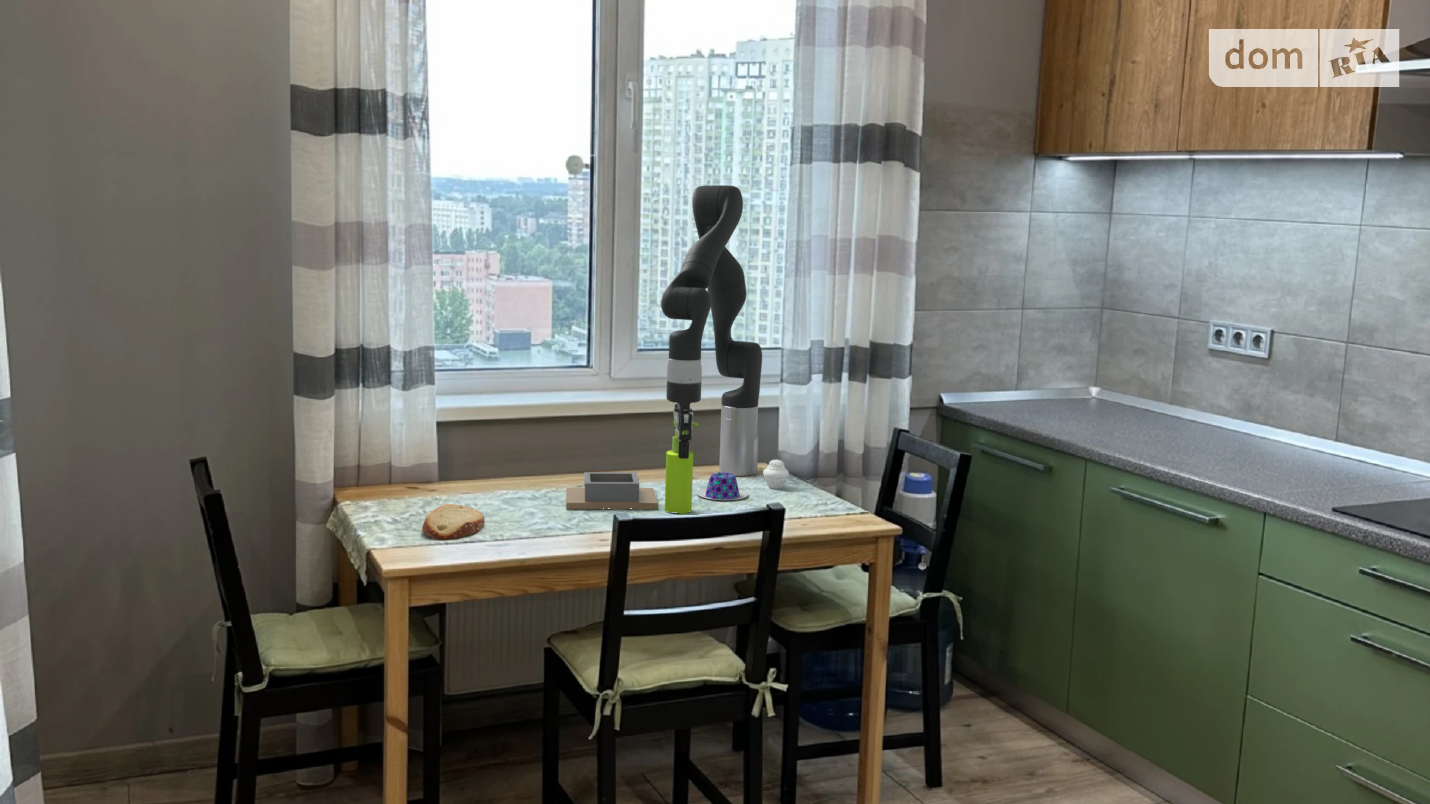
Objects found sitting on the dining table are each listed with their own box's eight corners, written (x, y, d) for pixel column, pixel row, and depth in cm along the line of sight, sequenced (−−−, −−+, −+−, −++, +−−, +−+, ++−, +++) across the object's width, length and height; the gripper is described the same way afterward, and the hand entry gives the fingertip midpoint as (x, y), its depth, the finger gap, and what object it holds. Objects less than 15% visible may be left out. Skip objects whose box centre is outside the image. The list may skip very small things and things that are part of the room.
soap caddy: (653, 494, 286) (653, 471, 285) (657, 509, 272) (658, 485, 271) (566, 494, 283) (566, 470, 282) (566, 509, 270) (566, 485, 269)
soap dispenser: (695, 514, 269) (698, 424, 265) (664, 513, 269) (666, 423, 266) (696, 507, 275) (699, 419, 271) (665, 506, 275) (668, 418, 271)
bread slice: (458, 511, 267) (458, 494, 266) (512, 528, 255) (512, 510, 255) (387, 526, 253) (387, 508, 253) (441, 544, 242) (441, 526, 241)
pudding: (687, 498, 285) (687, 476, 284) (711, 488, 295) (712, 466, 294) (733, 505, 279) (734, 483, 278) (756, 495, 289) (757, 473, 289)
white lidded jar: (788, 485, 299) (790, 457, 298) (787, 491, 293) (788, 462, 292) (763, 483, 300) (764, 455, 299) (761, 489, 294) (762, 461, 293)
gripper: (705, 384, 260) (702, 462, 263) (697, 374, 274) (695, 448, 277) (669, 384, 259) (667, 462, 262) (664, 374, 274) (662, 448, 276)
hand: (682, 454), depth 270 cm, fingers closed on soap dispenser, 6 cm apart
